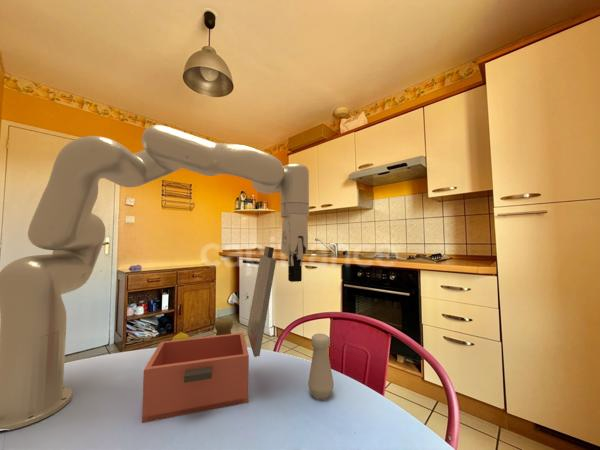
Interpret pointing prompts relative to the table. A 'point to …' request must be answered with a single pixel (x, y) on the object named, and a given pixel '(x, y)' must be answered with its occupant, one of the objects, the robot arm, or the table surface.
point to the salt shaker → (320, 368)
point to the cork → (223, 326)
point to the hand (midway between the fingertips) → (294, 280)
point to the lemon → (180, 336)
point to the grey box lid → (261, 300)
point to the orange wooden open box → (195, 376)
